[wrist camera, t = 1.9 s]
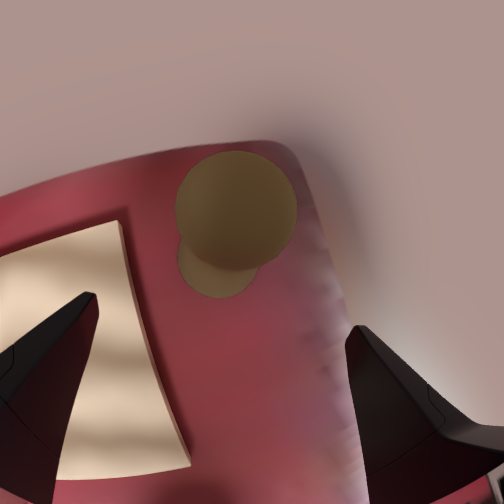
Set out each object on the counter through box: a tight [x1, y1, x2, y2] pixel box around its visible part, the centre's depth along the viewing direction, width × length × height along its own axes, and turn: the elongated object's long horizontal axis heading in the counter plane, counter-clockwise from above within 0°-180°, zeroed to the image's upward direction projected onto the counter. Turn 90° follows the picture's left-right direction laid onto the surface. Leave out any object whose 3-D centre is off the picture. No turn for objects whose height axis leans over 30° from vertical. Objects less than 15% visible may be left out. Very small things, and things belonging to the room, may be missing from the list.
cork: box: [174, 150, 298, 298], centre depth 16 cm, size 6×6×11 cm
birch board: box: [0, 220, 191, 480], centre depth 17 cm, size 18×13×2 cm
